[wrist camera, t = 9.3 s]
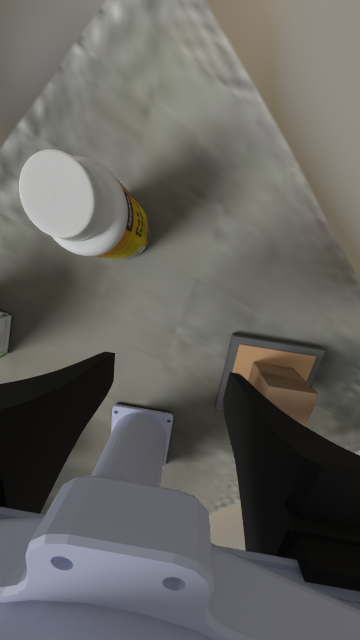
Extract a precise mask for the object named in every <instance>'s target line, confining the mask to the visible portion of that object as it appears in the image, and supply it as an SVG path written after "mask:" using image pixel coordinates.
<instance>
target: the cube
mask: <svg viewBox="0 0 360 640" xmlns="http://www.w3.org/2000/svg"><path fill="white" fill-rule="evenodd" d="M248 382H250V383H251V384H252V385H253V386H254V387H255V388H256V389H257V390H258V391H259V392H260V393H261V394H262V395H264V396H265V397H266V398H267V399H268V400H269V401H271V402H272V403H273V404H274V405H275V406H277V407H278V408H279V409H280V410H282V411H283V412H284V413H286V414H287V415H289V416H290V417H291V418H293V419H294V420H296V421H297V422H299V423H300V424H302V425H303V426H305V427H306V424H307V422H308V419H309V417H310V414H311V412H312V410H313V407H314V405H315V402H316V400H317V397H318V395H319V394H318V393H317V392H316V391H315V390H314V389H313V388H312V387H311V386H310V385H309V383H308V382H307V381H306V380H305V379H304V378H303V377H302V376H301V375H300V374H299V373H298V372H297V371H296V370H295V369H294V368H290V367H284V366H277V365H271V364H264V363H258V362H253V365H252V368H251V372H250V375H249V379H248Z"/></svg>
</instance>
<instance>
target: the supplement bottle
mask: <svg viewBox="0 0 360 640" xmlns="http://www.w3.org/2000/svg"><path fill="white" fill-rule="evenodd" d="M19 191H20V198H21V202H22V205H23V207H24V210H25V211H26V213H27V215H28V217H29V218H30V220H31V221H32V222H33V223H34V224H35V225H36V226H37V227H38V228H39V229H40V230H42V231H43V232H45V233H47V234H48V235H51V236H52V237H53V239H54V240H55V241H56V242H57V243H58V244H60V245H61V246H62V247H64V248H65V249H67V250H69V251H71V252H73V253H75V254H79V255H83V256H92V257H105V258H115V259H130V258H134V257H136V256H138V255H139V254H140V253H141V252H143V250H144V249H145V248H146V246H147V244H148V242H149V239H150V223H149V220H148V217H147V215H146V213H145V212H144V210H143V209H142V207H141V206H140V205H139V204H138V203H137V202H136V201H135V199H134V198H133V197H132V196H131V195H130V194H129V192H128V191H127V190H126V189H125V188H124V187H123V185H122V184H121V183H120V182H119V181H118V180H117V179H116V177H115V176H114V175H113V174H112V173H111V172H110V171H109V170H108V169H107V168H106V167H104V166H103V165H102V164H100V163H99V162H97V161H95V160H93V159H90V158H87V157H82V156H71V155H69V154H67V153H65V152H63V151H59V150H54V149H47V150H42V151H39V152H37V153H35V154H34V155H33V156H31V157H30V158H29V159H28V160H27V162H26V163H25V165H24V167H23V169H22V171H21V175H20V180H19Z"/></svg>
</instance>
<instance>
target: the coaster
mask: <svg viewBox="0 0 360 640" xmlns="http://www.w3.org/2000/svg"><path fill="white" fill-rule="evenodd" d="M324 354H325V350H323V349H322V348H319V347H313V346H306V345H300V344H294V343H288V342H282V341H275V340H269V339H263V338H257V337H250V336H244V335H238V334H232V338H231V342H230V346H229V350H228V354H227V358H226V362H225V366H224V371H223V375H222V379H221V383H220V387H219V391H218V395H217V399H216V404H215V410H216V411H221V412H224V408H223V397H224V393H225V389H226V385H227V381H228V377H229V373H230V372H232V373H239V374H241V375H242V376H243V377H244V378H245V379H246V380H247V381H248V379H249V375H250V372H251V368H252V365H253V362H258V363H264V364H271V365H277V366H284V367H290V368H294V369H295V370H296V371H297V372H298V373H299V374H300V375H301V376H302V377H303V378H304V379H305V380H306V381H307V382H308V383H309V385H310V386H312V383H313V381H314V379H315V376H316V374H317V371H318V369H319V366H320V364H321V361H322V359H323V356H324Z"/></svg>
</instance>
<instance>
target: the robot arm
mask: <svg viewBox="0 0 360 640" xmlns="http://www.w3.org/2000/svg"><path fill="white" fill-rule="evenodd" d="M114 361H115V353H110V352H103V353H100V354H98V355H95V356H93V357H90V358H88V359H86V360H83V361H81V362H79V363H76V364H73V365H71V366H68V367H65V368H63V369H60V370H57V371H54V372H51V373H47V374H44V375H40V376H37V377H32V378H28V379H24V380H19V381H15V382H9V383H4V384H0V640H360V456H359V455H357V454H355V453H353V452H351V451H348V450H346V449H344V448H342V447H340V446H338V445H336V444H335V443H333V442H331V441H329V440H327V439H325V438H323V437H322V436H320V435H318V434H317V433H315V432H313V431H311V430H310V429H308V428H307V427H305V426H303V425H302V424H300V423H299V422H297V421H296V420H294V419H293V418H291V417H290V416H289V415H287V414H286V413H284V412H283V411H282V410H280V409H279V408H278V407H277V406H275V405H274V404H273V403H272V402H271V401H269V400H268V399H267V398H266V397H265V396H264V395H262V394H261V393H260V392H259V391H258V390H257V389H256V388H255V387H254V386H253V385H252V384H251V383H250V382H248V381H247V380H246V379H245V378H244V377H243V376H242V375H241V374H239V373H232V372H230V373H229V377H228V381H227V385H226V389H225V393H224V397H223V408H224V416H225V420H226V424H227V429H228V433H229V437H230V441H231V445H232V449H233V453H234V458H235V463H236V470H237V477H238V484H239V492H240V500H241V508H242V517H243V526H244V536H245V547H246V551H243V550H238V549H233V548H227V547H221V546H216V545H214V544H212V543H211V539H210V524H209V514H208V510H207V509H206V508H205V507H204V506H203V505H202V504H201V502H200V501H199V500H198V499H197V498H196V497H195V496H193V495H190V494H188V493H185V492H182V491H180V490H176V489H170V488H164V487H160V482H161V475H162V469H163V468H165V464H166V458H167V452H168V446H169V441H170V435H171V429H172V423H173V414H172V413H167V412H161V411H155V410H149V409H143V408H137V407H131V406H126V405H120V404H115V405H114V406H113V409H112V427H111V435H110V437H109V439H108V442H107V444H106V446H105V448H104V450H103V452H102V454H101V456H100V458H99V460H98V462H97V465H96V467H95V469H94V471H93V473H92V475H91V476H79V477H76V478H74V479H72V480H71V481H69V482H67V483H65V484H64V485H63V486H62V487H61V489H60V491H59V492H58V494H57V496H56V498H55V499H54V501H53V503H52V504H51V506H50V508H49V510H48V511H47V513H46V515H43V514H40V513H41V510H42V508H43V506H44V504H45V502H46V500H47V498H48V496H49V494H50V492H51V490H52V488H53V486H54V484H55V482H56V480H57V478H58V476H59V474H60V472H61V470H62V468H63V466H64V464H65V462H66V460H67V458H68V456H69V454H70V453H71V451H72V449H73V447H74V445H75V443H76V442H77V440H78V438H79V436H80V434H81V433H82V431H83V430H84V428H85V426H86V425H87V424H88V422H89V421H90V419H91V418H92V416H93V415H94V413H95V412H96V410H97V409H98V407H99V406H100V404H101V403H102V402H103V400H104V399H105V397H106V395H107V393H108V392H109V390H110V388H111V385H112V383H113V379H114ZM116 411H118V412H116Z"/></svg>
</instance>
